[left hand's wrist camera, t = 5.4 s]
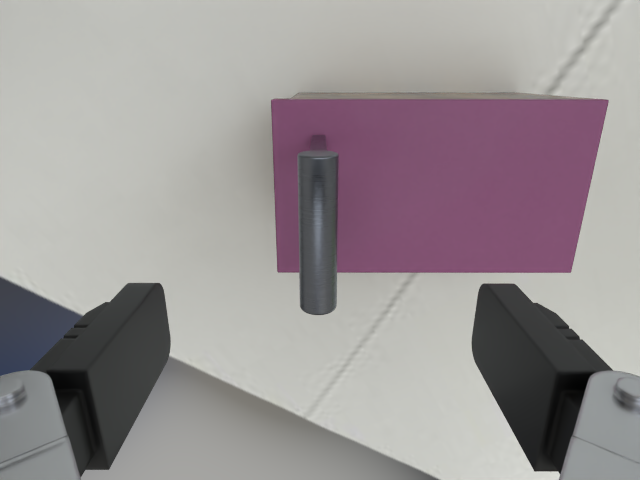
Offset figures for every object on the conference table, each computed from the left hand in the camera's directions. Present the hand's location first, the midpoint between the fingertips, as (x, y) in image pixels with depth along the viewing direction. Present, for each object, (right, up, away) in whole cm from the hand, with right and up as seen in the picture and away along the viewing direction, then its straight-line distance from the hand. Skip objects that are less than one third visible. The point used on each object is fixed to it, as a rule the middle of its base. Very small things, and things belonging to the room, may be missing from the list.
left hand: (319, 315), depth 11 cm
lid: (+6, +5, +13) cm, 15 cm away
